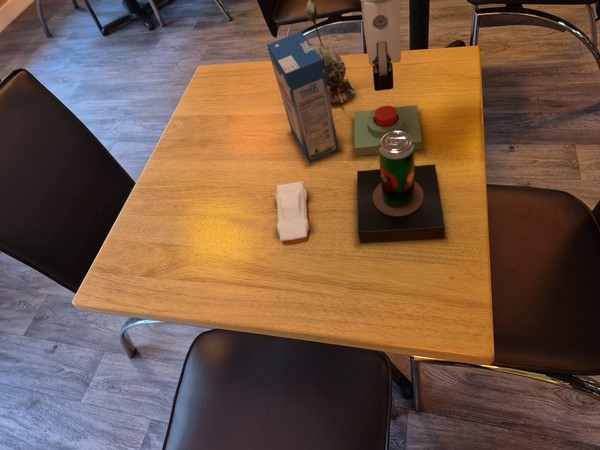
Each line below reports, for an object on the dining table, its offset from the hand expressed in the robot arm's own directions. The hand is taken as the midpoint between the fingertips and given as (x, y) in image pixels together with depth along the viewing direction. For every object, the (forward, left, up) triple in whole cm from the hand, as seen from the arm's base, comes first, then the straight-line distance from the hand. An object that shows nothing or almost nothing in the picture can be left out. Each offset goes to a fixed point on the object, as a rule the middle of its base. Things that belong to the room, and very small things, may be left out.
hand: (383, 86), depth 75 cm
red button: (0, 0, -7) cm, 7 cm away
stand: (-1, +18, -11) cm, 21 cm away
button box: (0, 0, -11) cm, 11 cm away
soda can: (-1, +18, -8) cm, 20 cm away
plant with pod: (+10, -14, -11) cm, 20 cm away
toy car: (+17, +18, -11) cm, 27 cm away
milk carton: (+14, 0, -11) cm, 18 cm away
